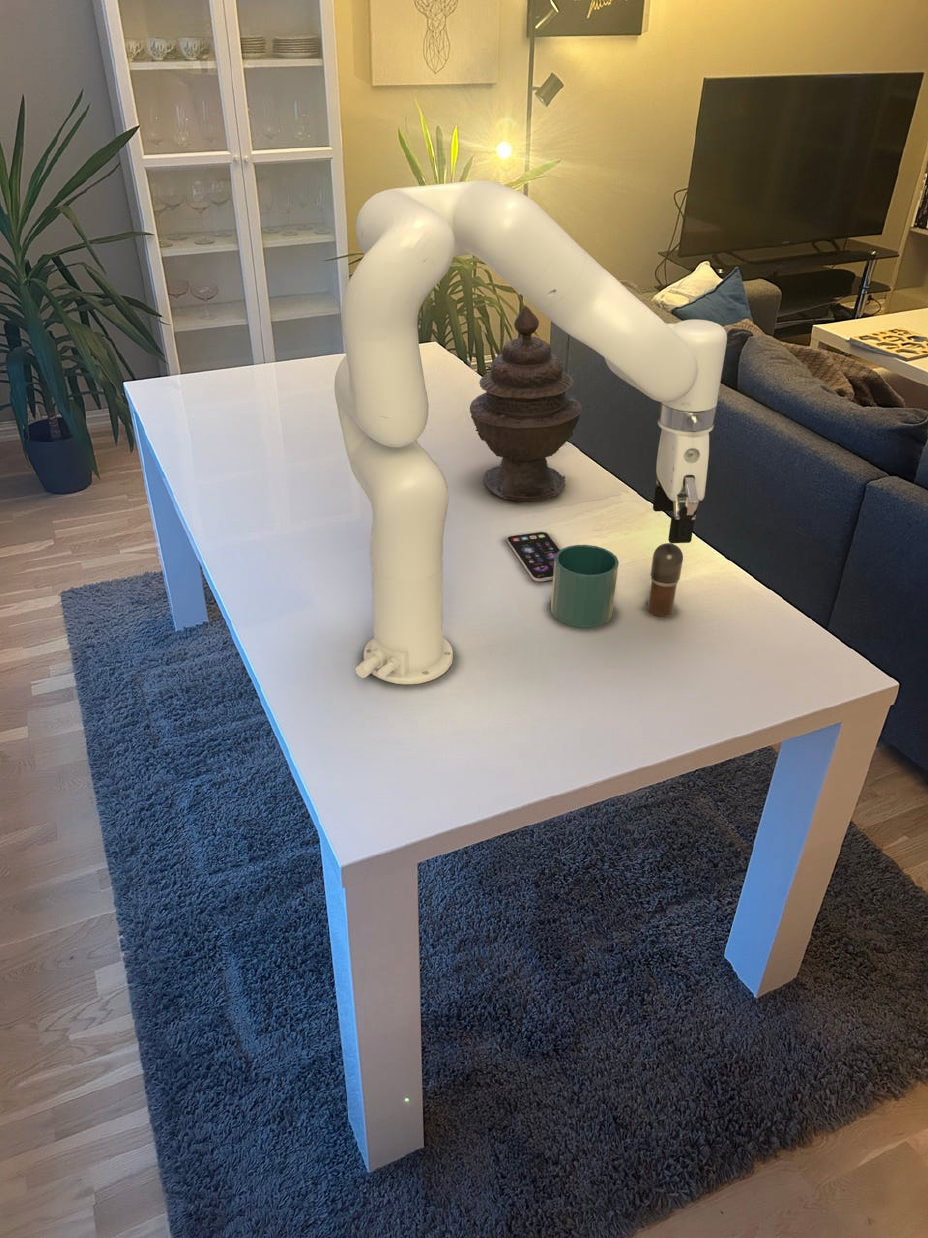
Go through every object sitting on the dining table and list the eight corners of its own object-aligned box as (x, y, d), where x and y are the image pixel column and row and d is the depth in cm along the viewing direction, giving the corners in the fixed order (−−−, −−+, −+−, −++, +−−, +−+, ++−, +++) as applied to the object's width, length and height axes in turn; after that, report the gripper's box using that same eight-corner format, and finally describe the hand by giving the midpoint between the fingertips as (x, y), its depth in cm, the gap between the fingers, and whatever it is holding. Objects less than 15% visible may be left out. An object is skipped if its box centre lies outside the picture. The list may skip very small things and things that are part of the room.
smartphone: (545, 530, 166) (578, 573, 154) (545, 533, 167) (578, 576, 155) (504, 536, 164) (534, 579, 152) (504, 539, 165) (534, 582, 153)
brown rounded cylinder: (667, 620, 144) (678, 555, 138) (640, 611, 146) (650, 547, 140) (678, 607, 148) (689, 543, 141) (651, 599, 149) (661, 535, 143)
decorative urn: (598, 477, 185) (602, 294, 165) (547, 523, 171) (544, 331, 151) (509, 456, 195) (502, 282, 174) (453, 499, 181) (439, 315, 161)
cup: (596, 634, 141) (602, 582, 136) (540, 615, 145) (543, 564, 140) (622, 606, 148) (628, 555, 143) (567, 588, 152) (572, 538, 147)
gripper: (732, 439, 123) (712, 554, 133) (697, 391, 137) (681, 498, 147) (675, 440, 123) (659, 556, 132) (645, 392, 137) (633, 499, 146)
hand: (671, 525), depth 139 cm, fingers open, 9 cm apart
